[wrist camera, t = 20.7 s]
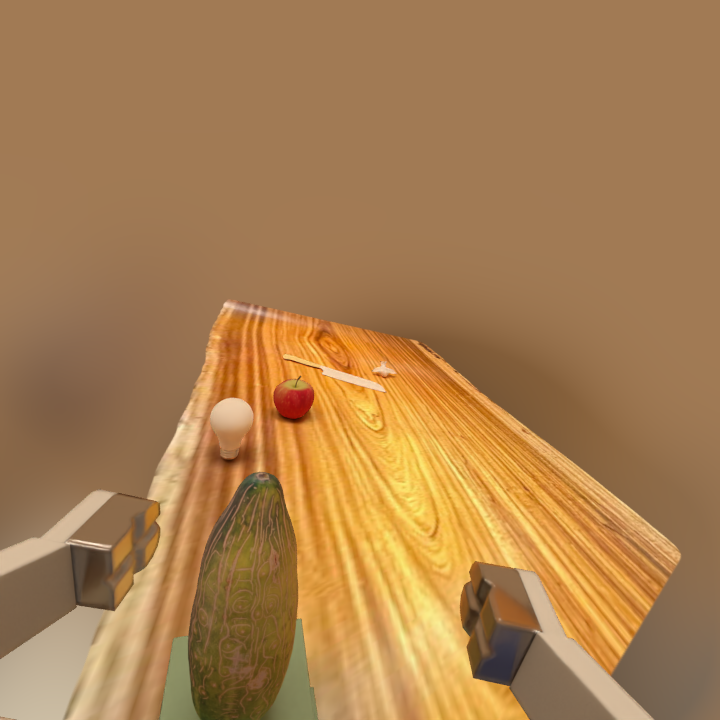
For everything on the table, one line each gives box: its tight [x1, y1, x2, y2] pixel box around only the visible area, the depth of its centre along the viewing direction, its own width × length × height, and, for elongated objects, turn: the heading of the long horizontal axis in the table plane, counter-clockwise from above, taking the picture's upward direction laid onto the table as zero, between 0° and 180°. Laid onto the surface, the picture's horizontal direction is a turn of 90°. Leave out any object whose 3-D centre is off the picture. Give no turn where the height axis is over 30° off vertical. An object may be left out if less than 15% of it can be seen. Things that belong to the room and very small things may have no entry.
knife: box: [283, 354, 386, 392], centre depth 105 cm, size 1×34×5 cm
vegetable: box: [188, 472, 298, 720], centre depth 22 cm, size 6×6×20 cm
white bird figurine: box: [372, 361, 397, 377], centre depth 110 cm, size 8×5×5 cm, turn 101°
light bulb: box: [210, 398, 253, 460], centre depth 60 cm, size 7×7×11 cm
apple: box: [274, 376, 314, 419], centre depth 78 cm, size 8×8×10 cm
